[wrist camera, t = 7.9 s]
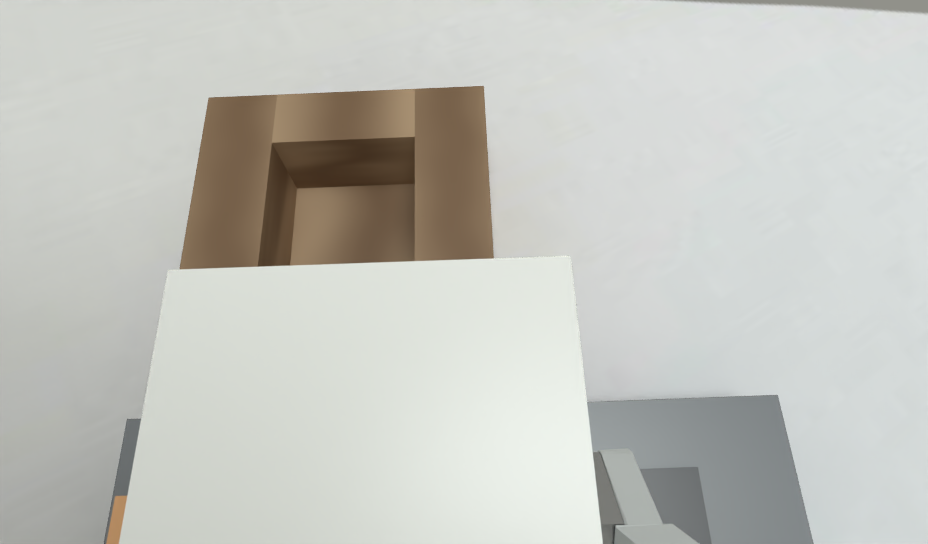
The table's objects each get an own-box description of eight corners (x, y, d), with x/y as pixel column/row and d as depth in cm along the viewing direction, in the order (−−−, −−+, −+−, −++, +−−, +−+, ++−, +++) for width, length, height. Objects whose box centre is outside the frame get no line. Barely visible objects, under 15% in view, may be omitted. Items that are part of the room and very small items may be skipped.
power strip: (130, 655, 21) (64, 681, 18) (166, 430, 24) (116, 416, 21) (791, 633, 21) (852, 655, 18) (743, 409, 24) (786, 391, 21)
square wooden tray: (215, 393, 25) (162, 368, 21) (246, 156, 30) (208, 97, 26) (495, 382, 25) (499, 355, 21) (483, 146, 30) (483, 85, 25)
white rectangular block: (354, 641, 14) (43, 964, 4) (362, 427, 16) (167, 269, 6) (521, 635, 14) (648, 946, 4) (508, 422, 16) (570, 255, 6)
